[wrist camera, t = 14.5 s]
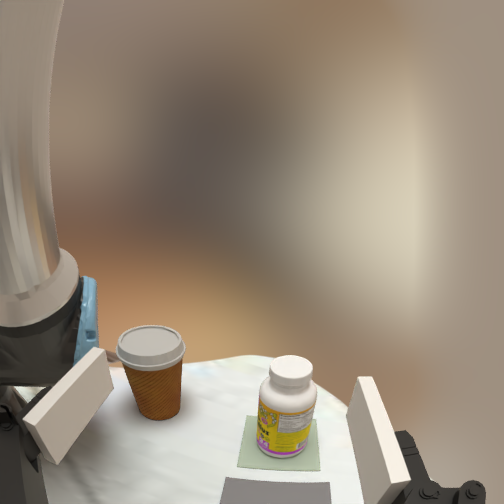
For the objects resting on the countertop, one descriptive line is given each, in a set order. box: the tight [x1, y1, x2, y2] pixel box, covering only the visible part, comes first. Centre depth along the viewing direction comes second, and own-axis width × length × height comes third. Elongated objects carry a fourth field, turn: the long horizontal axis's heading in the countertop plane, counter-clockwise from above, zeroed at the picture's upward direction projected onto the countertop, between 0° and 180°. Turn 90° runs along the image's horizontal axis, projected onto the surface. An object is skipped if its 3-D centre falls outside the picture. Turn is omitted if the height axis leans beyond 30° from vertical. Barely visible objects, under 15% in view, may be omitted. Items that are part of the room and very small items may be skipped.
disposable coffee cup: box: [116, 325, 186, 420], centre depth 38 cm, size 10×10×12 cm
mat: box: [237, 416, 320, 471], centre depth 33 cm, size 10×10×1 cm
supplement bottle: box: [256, 355, 317, 458], centre depth 32 cm, size 7×7×13 cm
